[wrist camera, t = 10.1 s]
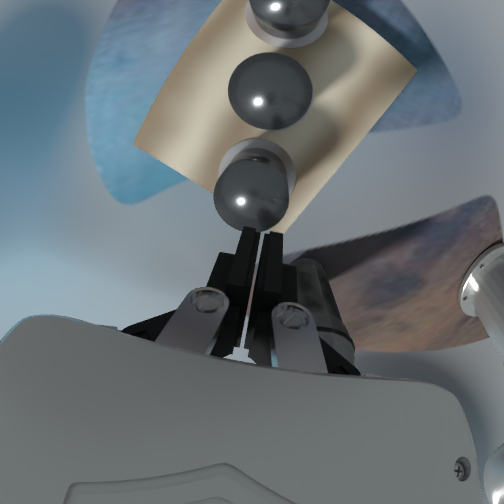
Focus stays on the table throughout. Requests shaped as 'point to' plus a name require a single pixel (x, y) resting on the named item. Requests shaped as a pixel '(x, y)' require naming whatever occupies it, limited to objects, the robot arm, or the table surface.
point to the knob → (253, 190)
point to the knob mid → (270, 91)
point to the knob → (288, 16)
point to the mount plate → (282, 140)
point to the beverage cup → (322, 306)
